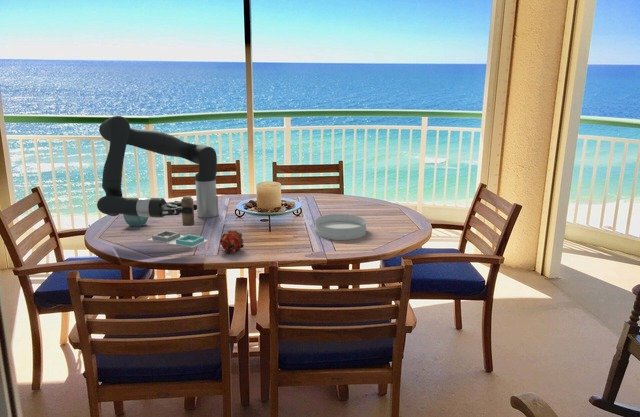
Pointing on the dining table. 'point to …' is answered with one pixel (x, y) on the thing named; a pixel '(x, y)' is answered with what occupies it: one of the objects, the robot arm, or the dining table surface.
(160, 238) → the frame board
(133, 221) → the flower pot
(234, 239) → the dragon fruit
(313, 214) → the dining table surface
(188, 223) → the jar
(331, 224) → the dish
